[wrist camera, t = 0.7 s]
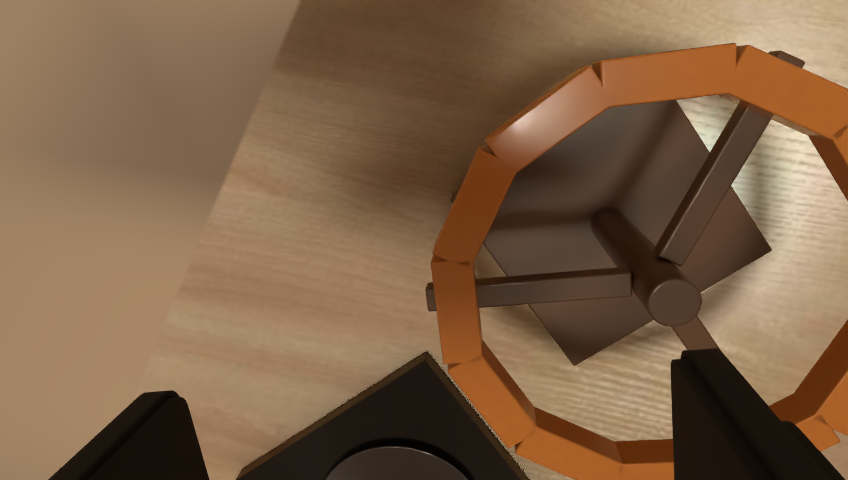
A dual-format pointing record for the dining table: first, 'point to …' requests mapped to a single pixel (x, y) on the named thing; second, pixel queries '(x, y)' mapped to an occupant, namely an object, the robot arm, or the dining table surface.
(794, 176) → the dining table surface
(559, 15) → the dining table surface
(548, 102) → the ring
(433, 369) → the hob
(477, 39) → the dining table surface
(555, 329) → the hanger stand
